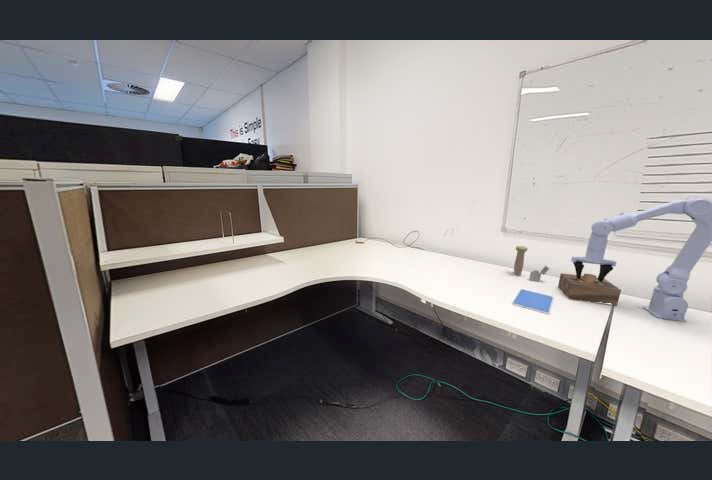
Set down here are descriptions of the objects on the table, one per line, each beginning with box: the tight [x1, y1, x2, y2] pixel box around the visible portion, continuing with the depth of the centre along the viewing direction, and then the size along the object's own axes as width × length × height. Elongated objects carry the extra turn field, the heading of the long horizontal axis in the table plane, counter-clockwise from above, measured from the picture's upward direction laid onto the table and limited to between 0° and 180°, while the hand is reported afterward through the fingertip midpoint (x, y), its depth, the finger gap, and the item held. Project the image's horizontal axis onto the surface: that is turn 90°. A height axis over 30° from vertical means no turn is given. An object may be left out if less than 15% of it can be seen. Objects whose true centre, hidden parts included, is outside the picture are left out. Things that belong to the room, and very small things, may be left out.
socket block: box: [557, 272, 622, 307], centre depth 115 cm, size 14×16×7 cm
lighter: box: [529, 265, 550, 282], centre depth 131 cm, size 7×2×8 cm, turn 74°
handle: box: [513, 245, 528, 276], centre depth 138 cm, size 5×6×15 cm
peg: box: [582, 273, 597, 283], centre depth 114 cm, size 4×4×6 cm
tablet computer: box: [511, 289, 555, 315], centre depth 109 cm, size 19×13×1 cm, turn 139°
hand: (588, 279), depth 114 cm, fingers open, 7 cm apart
